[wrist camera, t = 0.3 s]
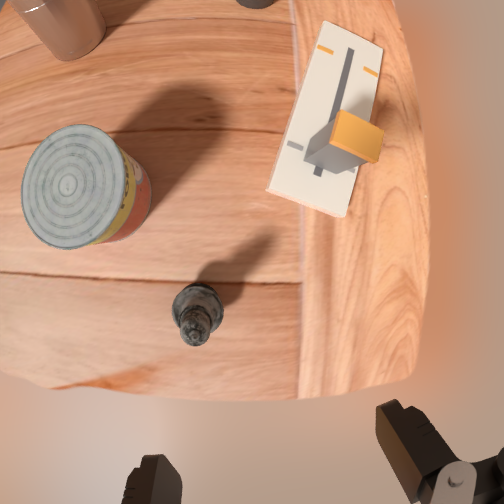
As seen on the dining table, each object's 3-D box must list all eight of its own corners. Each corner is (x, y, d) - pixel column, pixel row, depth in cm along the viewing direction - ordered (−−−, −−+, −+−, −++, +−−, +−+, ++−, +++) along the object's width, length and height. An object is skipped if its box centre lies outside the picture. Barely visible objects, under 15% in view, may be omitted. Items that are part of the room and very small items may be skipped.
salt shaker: (226, 284, 37) (233, 311, 25) (218, 329, 37) (222, 373, 25) (178, 276, 36) (164, 300, 24) (172, 322, 36) (157, 362, 24)
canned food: (170, 197, 35) (151, 184, 23) (106, 261, 35) (65, 276, 23) (115, 135, 33) (80, 101, 22) (56, 197, 33) (4, 188, 21)
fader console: (336, 217, 38) (345, 217, 36) (264, 190, 37) (268, 188, 34) (375, 56, 37) (383, 49, 35) (319, 28, 36) (324, 19, 33)
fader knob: (337, 176, 35) (377, 161, 25) (301, 161, 34) (332, 140, 24) (344, 151, 35) (384, 130, 25) (309, 136, 34) (341, 109, 24)
